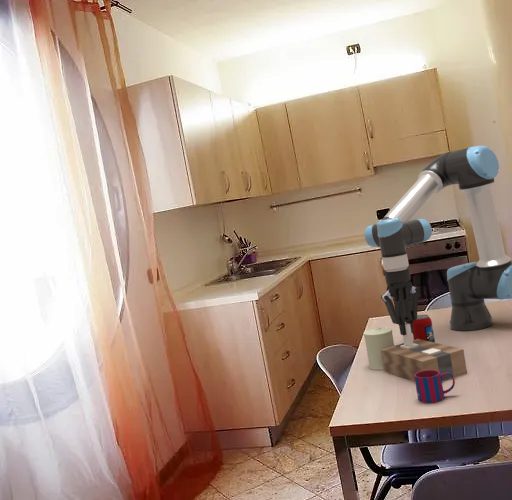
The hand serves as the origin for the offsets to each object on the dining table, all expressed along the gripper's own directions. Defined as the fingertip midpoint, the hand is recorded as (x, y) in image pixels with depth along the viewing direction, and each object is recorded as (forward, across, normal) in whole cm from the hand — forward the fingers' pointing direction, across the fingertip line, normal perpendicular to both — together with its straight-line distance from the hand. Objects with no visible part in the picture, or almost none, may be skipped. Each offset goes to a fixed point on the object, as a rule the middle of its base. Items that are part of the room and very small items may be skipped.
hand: (408, 344), depth 191 cm
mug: (+8, +11, +26) cm, 30 cm away
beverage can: (+8, -14, -12) cm, 21 cm away
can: (+8, +4, -11) cm, 14 cm away
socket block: (+8, 0, +6) cm, 10 cm away
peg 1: (+7, 0, 0) cm, 7 cm away
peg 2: (+7, 0, +11) cm, 13 cm away
